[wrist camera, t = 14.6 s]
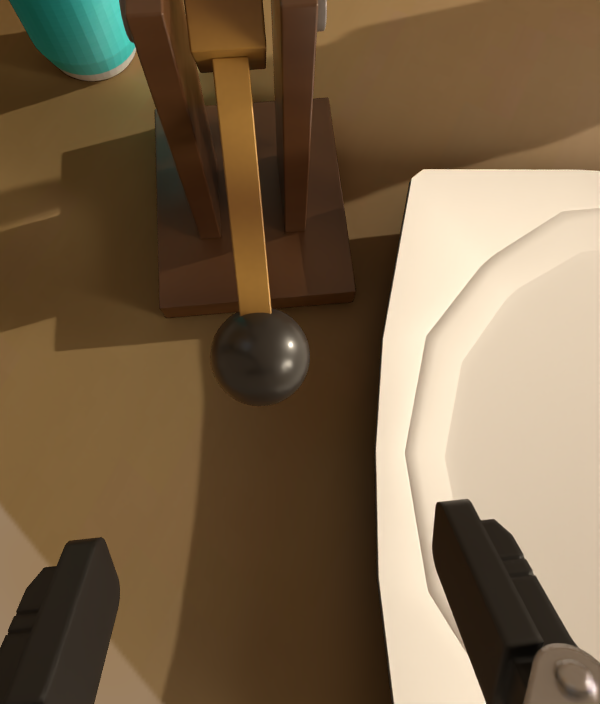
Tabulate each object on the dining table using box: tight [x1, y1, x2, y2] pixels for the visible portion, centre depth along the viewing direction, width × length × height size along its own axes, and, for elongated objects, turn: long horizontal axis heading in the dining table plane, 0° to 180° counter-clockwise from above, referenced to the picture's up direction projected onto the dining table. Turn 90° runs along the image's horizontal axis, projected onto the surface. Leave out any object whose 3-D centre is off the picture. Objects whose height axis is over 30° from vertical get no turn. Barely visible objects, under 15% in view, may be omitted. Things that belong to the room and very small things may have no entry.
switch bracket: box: [119, 0, 356, 318], centre depth 20 cm, size 11×9×13 cm
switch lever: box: [184, 0, 310, 406], centre depth 17 cm, size 14×4×4 cm
